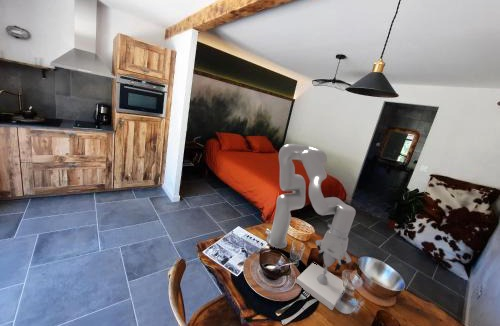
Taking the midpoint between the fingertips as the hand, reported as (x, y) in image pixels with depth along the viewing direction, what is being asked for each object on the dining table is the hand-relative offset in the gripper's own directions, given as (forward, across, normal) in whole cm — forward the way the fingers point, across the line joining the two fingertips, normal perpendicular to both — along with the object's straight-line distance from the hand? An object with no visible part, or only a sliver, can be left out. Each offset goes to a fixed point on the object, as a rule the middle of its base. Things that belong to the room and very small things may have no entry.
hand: (327, 264), depth 101 cm
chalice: (+9, 0, 0) cm, 9 cm away
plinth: (+12, 0, 0) cm, 12 cm away
